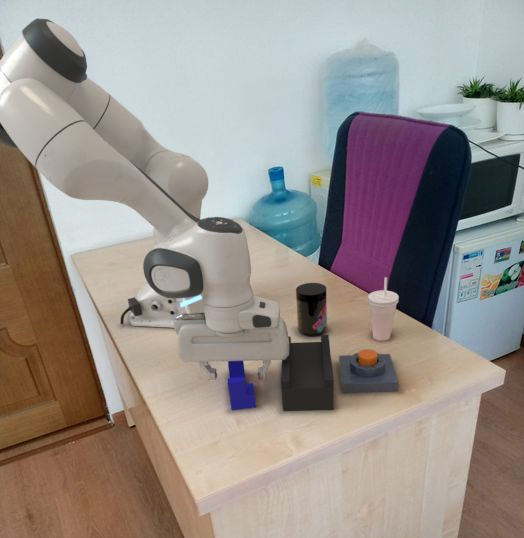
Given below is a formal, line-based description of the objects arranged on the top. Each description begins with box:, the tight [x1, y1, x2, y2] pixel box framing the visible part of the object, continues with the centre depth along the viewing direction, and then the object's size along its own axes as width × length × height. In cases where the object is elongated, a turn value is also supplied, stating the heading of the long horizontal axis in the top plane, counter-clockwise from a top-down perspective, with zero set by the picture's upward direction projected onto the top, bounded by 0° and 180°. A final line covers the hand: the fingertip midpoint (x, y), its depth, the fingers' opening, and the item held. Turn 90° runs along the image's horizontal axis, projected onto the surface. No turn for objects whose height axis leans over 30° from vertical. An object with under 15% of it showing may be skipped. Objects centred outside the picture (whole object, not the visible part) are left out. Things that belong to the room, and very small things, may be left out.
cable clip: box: [227, 361, 257, 411], centre depth 95 cm, size 12×4×6 cm, turn 5°
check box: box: [338, 352, 399, 394], centre depth 96 cm, size 10×10×4 cm
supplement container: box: [295, 282, 328, 338], centre depth 112 cm, size 7×7×10 cm
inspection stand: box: [280, 334, 335, 412], centre depth 94 cm, size 9×16×6 cm, turn 177°
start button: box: [357, 348, 378, 366], centre depth 94 cm, size 4×4×2 cm
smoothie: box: [367, 276, 400, 341], centre depth 106 cm, size 6×6×14 cm
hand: (237, 378), depth 94 cm, fingers open, 8 cm apart
